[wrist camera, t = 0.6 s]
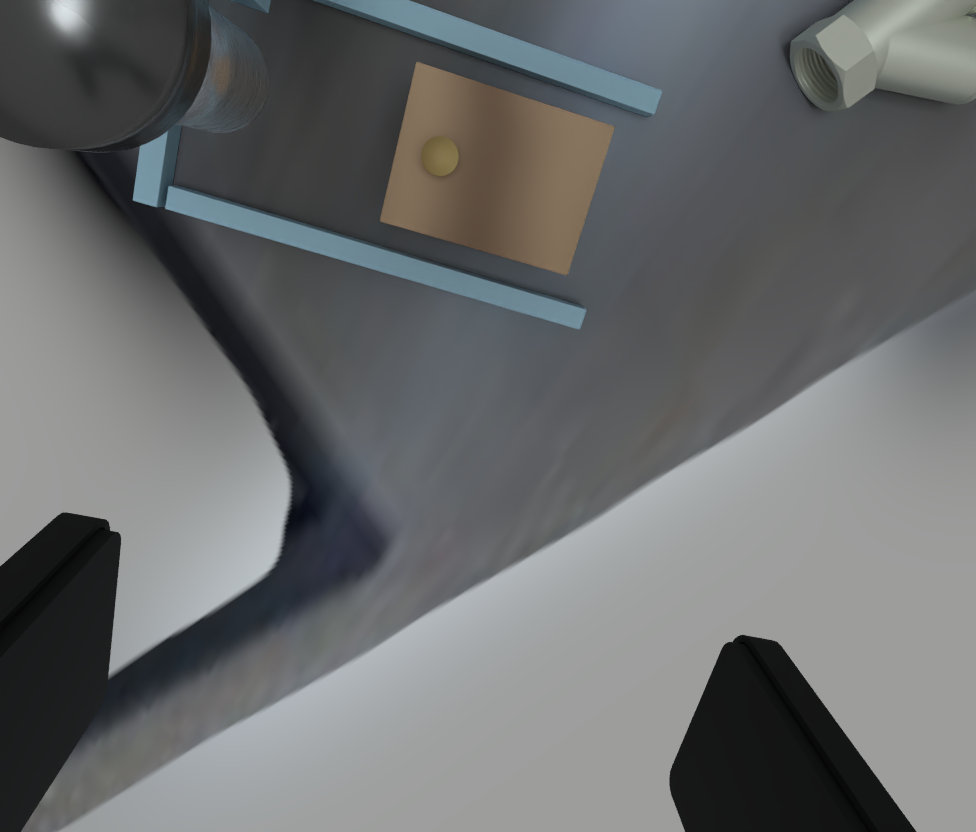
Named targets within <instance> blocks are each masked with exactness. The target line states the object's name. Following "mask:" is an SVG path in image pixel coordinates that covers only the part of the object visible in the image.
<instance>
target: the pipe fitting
mask: <svg viewBox="0 0 976 832" xmlns="http://www.w3.org/2000/svg"><path fill="white" fill-rule="evenodd" d="M972 13H976V0H853V1H852V2H851V3H849V4H848V5H847V6H845V7H844V8H843V9H841V10H840V11H839V12H837V13H836V14H835V15H834V16H831V17H828V18H825V19H822V20H820V21H817V22H816V23H814V24H813V25H812V26H810V27H809V28H808V29H806V30H805V31H804V32H802V33H801V34H800V35H798V36H797V37H796V38H794V39H793V40H792V41H791V46H790V63H791V68H792V72H793V75H794V77H795V79H796V81H797V83H798V85H799V87H800V89H801V90H802V91H803V93H804V94H805V95H806V97H807V98H808V99H809V100H810V101H811V102H812V103H813V104H815V105H816V106H817V107H819V108H820V109H822V110H824V111H839V110H843V109H848V108H849V107H850V106H852V105H853V104H854V103H856V102H857V101H859V100H860V99H861V98H863V97H864V96H865V95H867V94H868V93H870V92H871V91H872V90H874V88H877V89H882V90H887V91H892V92H897V93H902V94H907V95H912V96H917V97H921V98H926V99H931V100H936V101H941V102H946V103H951V104H956V105H961V104H966V103H969V102H971V101H973V100H974V99H976V18H975V17H971V16H967V15H969V14H972Z"/></svg>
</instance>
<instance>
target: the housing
mask: <svg viewBox="0 0 976 832" xmlns="http://www.w3.org/2000/svg"><path fill="white" fill-rule="evenodd" d="M614 128H615V126H612V125H609V124H605V123H602V122H599V121H596V120H593V119H590V118H587V117H584V116H581V115H578V114H575V113H572V112H569V111H566V110H563V109H560V108H557V107H554V106H551V105H548V104H544V103H541V102H538V101H535V100H532V99H529V98H526V97H523V96H520V95H517V94H514V93H511V92H508V91H505V90H502V89H499V88H496V87H493V86H490V85H487V84H483V83H480V82H477V81H474V80H471V79H468V78H465V77H462V76H459V75H456V74H453V73H450V72H447V71H444V70H441V69H438V68H435V67H432V66H429V65H426V64H422V63H419V62H416V66H415V70H414V74H413V79H412V83H411V87H410V92H409V96H408V100H407V105H406V109H405V113H404V118H403V122H402V126H401V131H400V135H399V139H398V144H397V148H396V152H395V157H394V161H393V165H392V170H391V174H390V178H389V183H388V187H387V191H386V196H385V200H384V204H383V209H382V213H381V217H380V222H384V223H387V224H391V225H394V226H398V227H401V228H405V229H408V230H412V231H415V232H418V233H422V234H425V235H429V236H432V237H436V238H439V239H443V240H446V241H450V242H453V243H456V244H460V245H463V246H467V247H470V248H474V249H477V250H481V251H484V252H488V253H491V254H494V255H498V256H501V257H505V258H508V259H512V260H515V261H519V262H522V263H526V264H529V265H533V266H536V267H539V268H543V269H546V270H550V271H553V272H557V273H560V274H564V275H567V276H568V272H569V269H570V266H571V263H572V260H573V257H574V254H575V250H576V247H577V244H578V241H579V238H580V235H581V232H582V229H583V225H584V222H585V219H586V216H587V213H588V210H589V207H590V204H591V200H592V197H593V194H594V191H595V188H596V185H597V182H598V178H599V175H600V172H601V169H602V166H603V163H604V160H605V157H606V153H607V150H608V147H609V144H610V141H611V138H612V135H613V132H614Z"/></svg>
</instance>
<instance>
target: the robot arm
mask: <svg viewBox="0 0 976 832" xmlns="http://www.w3.org/2000/svg"><path fill="white" fill-rule="evenodd" d="M120 546H121V536H120V534H119V533H118V532H113V531H110V526H109V522H108V521H107V520H105V519H100V518H94V517H88V516H83V515H78V514H72V513H61V514H60V515H58V516H57V517H56V518H55V519H53V520H52V521H51V522H50V523H49V524H48V525H47V526H46V527H44V528H43V529H42V530H41V531H40V532H39V533H38V534H36V535H35V536H34V537H33V538H32V539H31V540H30V541H29V542H27V543H26V544H25V545H24V546H23V547H22V548H21V549H20V550H18V551H17V552H16V553H15V554H14V555H13V556H12V557H11V558H9V559H8V560H7V561H6V562H5V563H4V564H3V565H1V566H0V832H21V830H22V829H23V827H24V826H25V824H26V823H27V821H28V819H29V818H30V816H31V815H32V813H33V812H34V810H35V809H36V807H37V805H38V804H39V802H40V801H41V799H42V798H43V796H44V794H45V793H46V791H47V790H48V788H49V787H50V785H51V784H52V782H53V780H54V779H55V777H56V776H57V774H58V773H59V771H60V770H61V768H62V766H63V765H64V763H65V762H66V760H67V759H68V757H69V755H70V754H71V752H72V751H73V749H74V748H75V746H76V745H77V743H78V741H79V740H80V738H81V737H82V735H83V734H84V732H85V731H86V729H87V727H88V726H89V724H90V723H91V721H92V720H93V718H94V716H95V715H96V713H97V712H98V710H99V708H100V706H101V704H102V701H103V698H104V696H105V692H106V688H107V683H108V672H109V662H110V650H111V641H112V630H113V620H114V610H115V599H116V588H117V578H118V567H119V558H120ZM670 791H671V795H672V798H673V800H674V803H675V806H676V808H677V811H678V814H679V816H680V819H681V822H682V824H683V827H684V830H685V832H916V831H915V829H914V828H913V827H912V825H911V824H910V822H909V821H908V820H907V818H906V817H905V815H904V814H903V813H902V811H901V810H900V809H899V807H898V806H897V804H896V803H895V802H894V800H893V799H892V798H891V796H890V795H889V794H888V792H887V791H886V790H885V788H884V787H883V785H882V784H881V783H880V781H879V780H878V778H877V777H876V776H875V774H874V773H873V772H872V770H871V769H870V767H869V766H868V765H867V763H866V762H865V760H864V759H863V758H862V756H861V755H860V754H859V752H858V751H857V749H856V748H855V747H854V745H853V744H852V743H851V741H850V740H849V739H848V737H847V736H846V734H845V733H844V732H843V730H842V729H841V728H840V726H839V725H838V723H837V722H836V721H835V719H834V718H833V717H832V715H831V714H830V712H829V711H828V710H827V708H826V707H825V706H824V704H823V703H822V701H821V700H820V699H819V697H818V696H817V695H816V693H815V692H814V690H813V689H812V688H811V686H810V685H809V684H808V682H807V681H806V680H805V678H804V677H803V675H802V674H801V673H800V671H799V670H798V668H797V667H796V666H795V664H794V663H793V662H792V660H791V659H790V657H789V656H788V655H787V653H786V652H785V651H784V649H783V648H782V646H781V645H779V644H778V642H775V641H772V640H767V639H762V638H756V637H750V636H746V635H740V636H738V637H737V638H735V639H734V641H733V642H728V643H726V644H725V645H724V646H723V648H722V650H721V652H720V654H719V657H718V659H717V662H716V664H715V666H714V669H713V671H712V673H711V676H710V678H709V680H708V683H707V685H706V688H705V690H704V692H703V695H702V697H701V699H700V702H699V704H698V706H697V709H696V711H695V713H694V716H693V718H692V720H691V723H690V725H689V728H688V730H687V732H686V735H685V737H684V739H683V742H682V744H681V746H680V749H679V751H678V753H677V756H676V758H675V761H674V763H673V765H672V768H671V771H670Z"/></svg>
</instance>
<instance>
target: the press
mask: <svg viewBox="0 0 976 832" xmlns="http://www.w3.org/2000/svg"><path fill="white" fill-rule="evenodd" d="M230 1H233V2H236V3H239V4H242V5H245V6H248V7H251V8H254V9H256V10H259V11H262V12H265V13H269V8H270V2H271V0H230ZM313 1H316V2H319V3H322V4H325V5H327V6H330V7H333V8H336V9H339V10H342V11H345V12H348V13H350V14H353V15H356V16H359V17H362V18H365V19H368V20H370V21H373V22H376V23H379V24H382V25H385V26H388V27H390V28H393V29H396V30H399V31H402V32H405V33H408V34H411V35H413V36H416V37H419V38H422V39H425V40H428V41H431V42H433V43H436V44H439V45H442V46H445V47H448V48H451V49H453V50H456V51H459V52H462V53H465V54H468V55H471V56H474V57H476V58H479V59H482V60H485V61H488V62H491V63H494V64H496V65H499V66H502V67H505V68H508V69H511V70H514V71H517V72H519V73H522V74H525V75H528V76H531V77H534V78H537V79H539V80H542V81H545V82H548V83H551V84H554V85H557V86H559V87H562V88H565V89H568V90H571V91H574V92H577V93H580V94H582V95H585V96H588V97H591V98H594V99H597V100H600V101H602V102H605V103H608V104H611V105H614V106H617V107H620V108H623V109H625V110H628V111H631V112H634V113H637V114H640V115H643V116H645V117H648V116H651V115H654V114H655V111H656V108H657V106H658V103H659V100H660V97H661V94H662V90H659V89H656V88H653V87H651V86H648V85H645V84H642V83H639V82H637V81H634V80H631V79H628V78H625V77H623V76H620V75H617V74H614V73H611V72H609V71H606V70H603V69H600V68H597V67H595V66H592V65H589V64H586V63H583V62H581V61H578V60H575V59H572V58H569V57H567V56H564V55H561V54H558V53H555V52H553V51H550V50H547V49H544V48H541V47H539V46H536V45H533V44H530V43H527V42H525V41H522V40H519V39H516V38H513V37H511V36H508V35H505V34H502V33H499V32H497V31H494V30H491V29H488V28H485V27H482V26H480V25H477V24H474V23H471V22H468V21H466V20H463V19H460V18H457V17H454V16H452V15H449V14H446V13H443V12H440V11H438V10H435V9H432V8H429V7H426V6H424V5H421V4H418V3H415V2H412V1H410V0H313ZM181 127H182V126H181V125H176V124H175V125H174V126H173V127H172V128H171V129H170V130H168V131H167V132H166V133H164V134H163V135H161V136H160V137H158V138H156V139H154V140H152V141H150V142H149V143H147V144H144V145H141V146H140V151H139V159H138V166H137V173H136V181H135V188H134V195H133V201H137V202H140V203H144V204H147V205H150V206H154V207H164V206H165V209H168V210H171V211H175V212H178V213H181V214H185V215H188V216H192V217H195V218H199V219H202V220H205V221H209V222H212V223H216V224H219V225H223V226H226V227H229V228H233V229H236V230H240V231H243V232H247V233H250V234H253V235H257V236H260V237H264V238H267V239H271V240H274V241H277V242H281V243H284V244H288V245H291V246H295V247H298V248H301V249H305V250H308V251H312V252H315V253H319V254H322V255H325V256H329V257H332V258H336V259H339V260H343V261H346V262H349V263H353V264H356V265H360V266H363V267H367V268H370V269H373V270H377V271H380V272H384V273H387V274H391V275H394V276H397V277H401V278H404V279H408V280H411V281H415V282H418V283H421V284H425V285H428V286H432V287H435V288H439V289H442V290H445V291H449V292H452V293H456V294H459V295H463V296H466V297H469V298H473V299H476V300H480V301H483V302H487V303H490V304H493V305H497V306H500V307H504V308H507V309H511V310H514V311H517V312H521V313H524V314H528V315H531V316H535V317H538V318H541V319H545V320H548V321H552V322H555V323H559V324H562V325H565V326H569V327H572V328H576V329H579V330H580V328H581V325H582V322H583V319H584V316H585V313H586V309H585V308H584V307H583V306H582V305H578V304H575V303H571V302H568V301H565V300H561V299H558V298H555V297H551V296H548V295H545V294H541V293H538V292H535V291H531V290H528V289H524V288H521V287H518V286H514V285H511V284H508V283H504V282H501V281H498V280H494V279H491V278H488V277H484V276H481V275H477V274H474V273H471V272H467V271H464V270H461V269H457V268H454V267H451V266H447V265H444V264H441V263H437V262H434V261H430V260H427V259H424V258H420V257H417V256H414V255H410V254H407V253H404V252H400V251H397V250H393V249H390V248H387V247H383V246H380V245H377V244H373V243H370V242H367V241H363V240H360V239H357V238H353V237H350V236H346V235H343V234H340V233H336V232H333V231H330V230H326V229H323V228H320V227H316V226H313V225H310V224H306V223H303V222H299V221H296V220H293V219H289V218H286V217H283V216H279V215H276V214H273V213H269V212H266V211H262V210H259V209H256V208H252V207H249V206H246V205H242V204H239V203H236V202H232V201H229V200H226V199H222V198H219V197H215V196H212V195H209V194H205V193H202V192H199V191H195V190H192V189H189V188H185V187H182V186H179V185H178V186H172V185H173V179H174V172H175V166H176V159H177V153H178V146H179V140H180V133H181Z"/></svg>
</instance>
